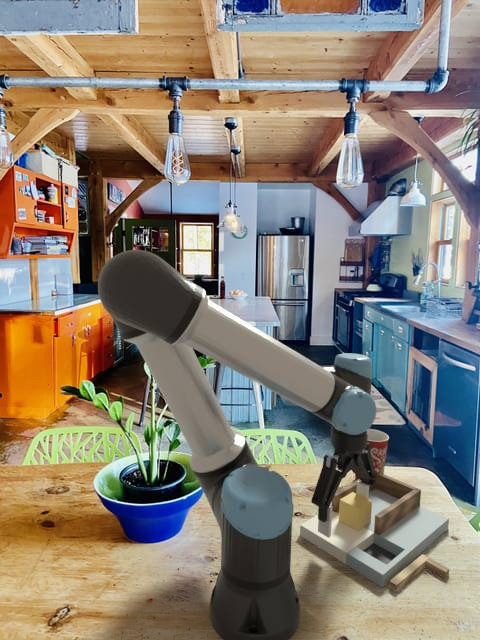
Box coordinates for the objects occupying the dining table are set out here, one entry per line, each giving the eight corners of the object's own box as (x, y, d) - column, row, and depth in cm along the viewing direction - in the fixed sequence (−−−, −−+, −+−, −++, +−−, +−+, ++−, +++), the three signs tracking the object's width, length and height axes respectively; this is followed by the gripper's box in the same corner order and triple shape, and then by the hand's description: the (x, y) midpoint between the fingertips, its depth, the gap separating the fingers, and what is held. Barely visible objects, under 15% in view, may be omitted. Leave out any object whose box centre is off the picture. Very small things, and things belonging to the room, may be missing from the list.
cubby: (379, 535, 90) (380, 517, 90) (331, 509, 99) (331, 493, 99) (419, 505, 102) (421, 489, 101) (373, 485, 111) (374, 470, 111)
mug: (380, 473, 123) (382, 428, 121) (390, 489, 114) (393, 441, 112) (336, 472, 123) (338, 427, 121) (343, 488, 114) (345, 440, 112)
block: (358, 531, 91) (359, 509, 91) (338, 520, 95) (339, 499, 95) (370, 522, 95) (372, 501, 94) (351, 512, 98) (352, 492, 98)
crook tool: (417, 605, 75) (417, 598, 74) (389, 587, 79) (389, 580, 79) (448, 575, 82) (449, 568, 82) (422, 560, 86) (422, 554, 86)
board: (382, 587, 79) (383, 574, 78) (299, 535, 94) (300, 524, 93) (448, 528, 97) (449, 518, 97) (370, 492, 112) (370, 484, 112)
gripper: (327, 448, 79) (321, 554, 81) (396, 419, 95) (389, 509, 98) (296, 435, 84) (292, 535, 87) (366, 410, 101) (360, 495, 103)
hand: (343, 521), depth 92 cm, fingers open, 13 cm apart
